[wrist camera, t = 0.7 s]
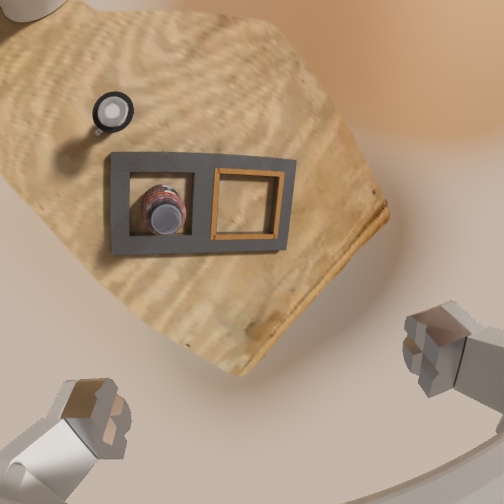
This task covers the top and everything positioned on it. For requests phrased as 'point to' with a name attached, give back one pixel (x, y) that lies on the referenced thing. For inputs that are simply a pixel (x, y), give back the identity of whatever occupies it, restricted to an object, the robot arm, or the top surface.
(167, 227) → the supplement bottle
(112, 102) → the push button
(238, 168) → the grey rectangular frame
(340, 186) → the top surface
